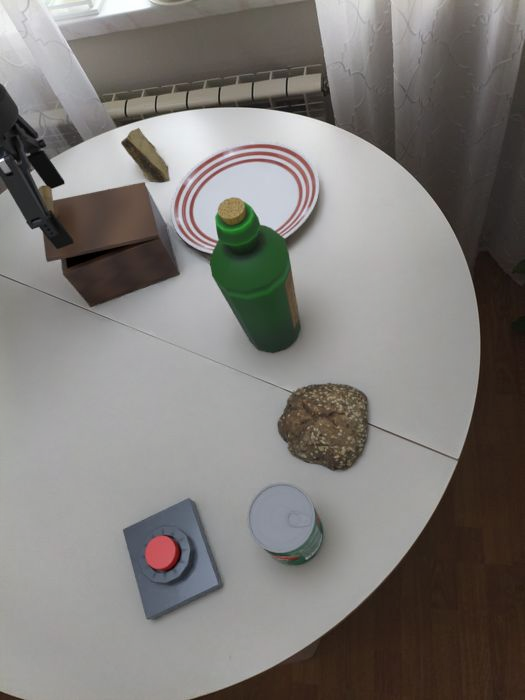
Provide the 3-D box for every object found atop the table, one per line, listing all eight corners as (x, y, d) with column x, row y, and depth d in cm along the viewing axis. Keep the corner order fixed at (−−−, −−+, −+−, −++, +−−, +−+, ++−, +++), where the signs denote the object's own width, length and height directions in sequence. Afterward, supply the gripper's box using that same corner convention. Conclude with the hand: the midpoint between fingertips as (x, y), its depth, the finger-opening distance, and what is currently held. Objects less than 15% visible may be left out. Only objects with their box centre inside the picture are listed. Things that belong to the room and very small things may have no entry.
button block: (128, 532, 77) (116, 526, 74) (194, 501, 77) (185, 494, 74) (152, 620, 71) (140, 618, 67) (223, 586, 71) (215, 582, 68)
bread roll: (376, 394, 80) (376, 379, 75) (358, 476, 74) (357, 465, 70) (291, 378, 83) (286, 363, 79) (269, 456, 78) (262, 444, 74)
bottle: (320, 317, 88) (294, 189, 64) (283, 370, 84) (241, 257, 60) (265, 292, 92) (221, 164, 68) (228, 342, 89) (169, 225, 65)
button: (146, 546, 72) (141, 543, 70) (174, 532, 72) (169, 530, 71) (155, 576, 70) (150, 574, 68) (183, 562, 70) (179, 560, 69)
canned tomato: (259, 561, 72) (240, 546, 62) (270, 500, 75) (253, 478, 66) (320, 571, 70) (309, 558, 60) (328, 508, 73) (319, 486, 64)
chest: (91, 307, 98) (62, 274, 89) (82, 254, 104) (55, 219, 96) (179, 274, 97) (159, 238, 89) (165, 224, 104) (146, 185, 96)
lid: (47, 262, 86) (31, 231, 81) (41, 206, 93) (26, 174, 87) (159, 238, 89) (151, 206, 83) (145, 185, 95) (137, 152, 90)
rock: (129, 138, 115) (111, 168, 109) (140, 106, 108) (122, 136, 102) (176, 164, 117) (162, 195, 112) (190, 135, 111) (175, 166, 105)
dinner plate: (147, 216, 106) (141, 204, 103) (252, 133, 111) (248, 119, 108) (239, 293, 93) (235, 281, 90) (353, 194, 98) (351, 181, 96)
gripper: (7, 149, 63) (92, 263, 81) (-2, 34, 75) (74, 155, 94) (-54, 172, 63) (45, 281, 81) (-53, 54, 76) (33, 171, 94)
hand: (61, 213), depth 87 cm, fingers open, 13 cm apart
